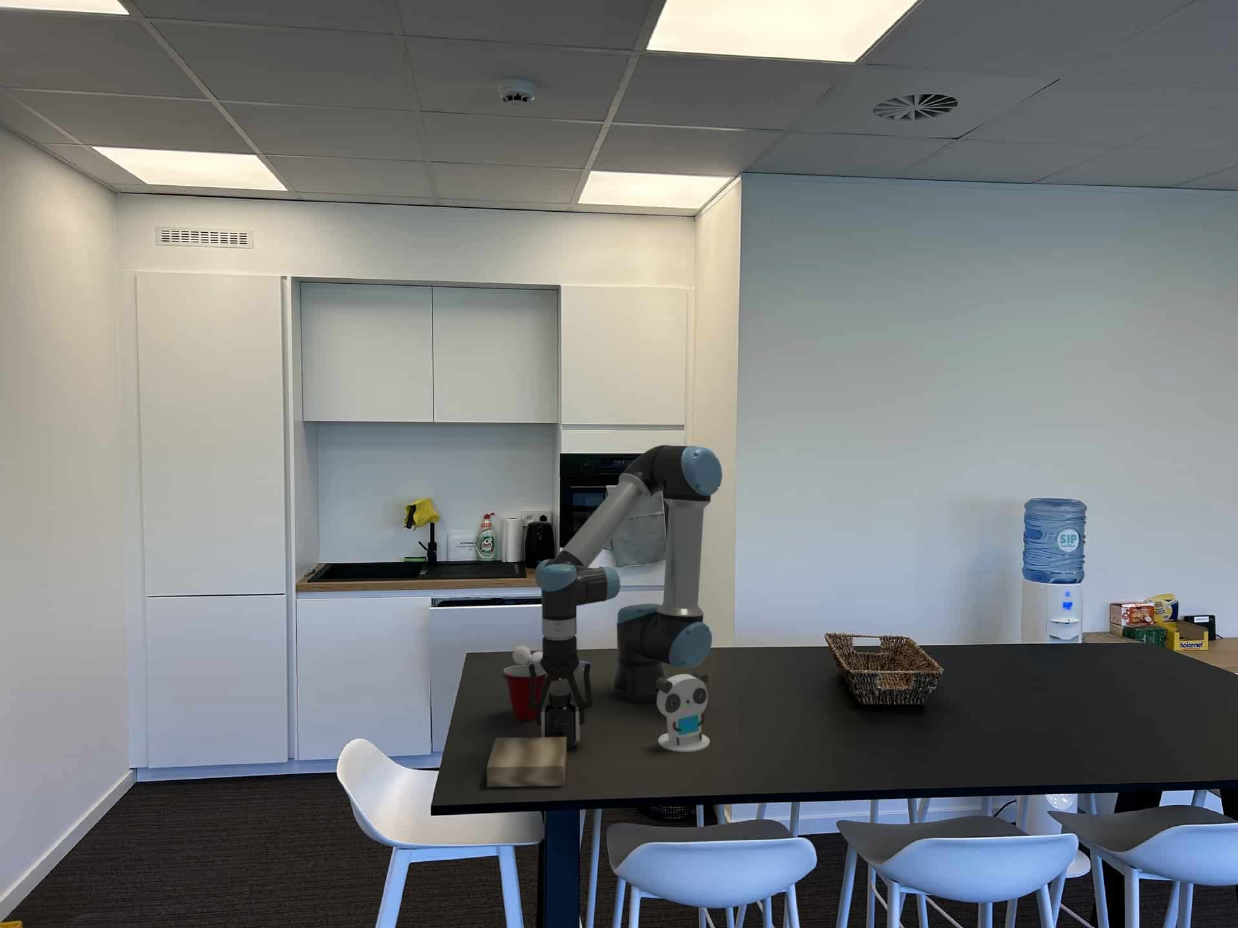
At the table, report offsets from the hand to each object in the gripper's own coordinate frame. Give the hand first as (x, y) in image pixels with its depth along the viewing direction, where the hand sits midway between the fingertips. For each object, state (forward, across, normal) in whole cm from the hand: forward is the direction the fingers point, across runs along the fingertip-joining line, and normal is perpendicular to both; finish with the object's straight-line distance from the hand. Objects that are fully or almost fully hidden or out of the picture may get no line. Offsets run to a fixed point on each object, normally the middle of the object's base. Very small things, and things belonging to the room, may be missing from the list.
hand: (560, 738), depth 192 cm
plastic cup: (+2, -9, +18) cm, 20 cm away
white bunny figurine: (+2, -8, +49) cm, 50 cm away
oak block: (+2, -6, -13) cm, 14 cm away
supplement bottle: (+2, 0, 0) cm, 2 cm away
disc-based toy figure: (+2, +27, +1) cm, 27 cm away
